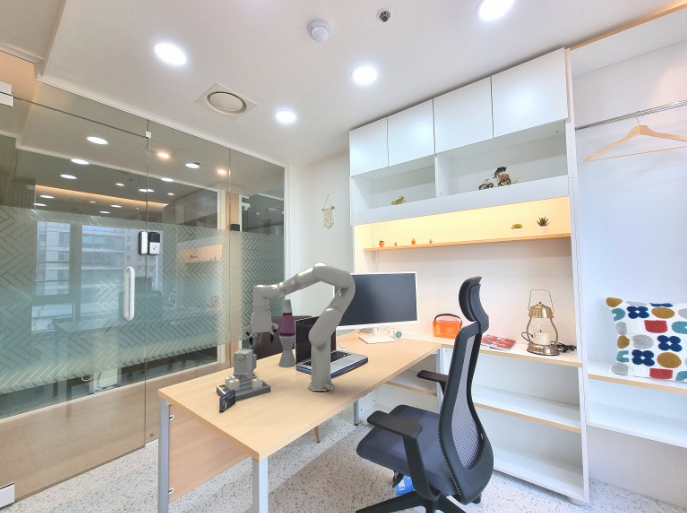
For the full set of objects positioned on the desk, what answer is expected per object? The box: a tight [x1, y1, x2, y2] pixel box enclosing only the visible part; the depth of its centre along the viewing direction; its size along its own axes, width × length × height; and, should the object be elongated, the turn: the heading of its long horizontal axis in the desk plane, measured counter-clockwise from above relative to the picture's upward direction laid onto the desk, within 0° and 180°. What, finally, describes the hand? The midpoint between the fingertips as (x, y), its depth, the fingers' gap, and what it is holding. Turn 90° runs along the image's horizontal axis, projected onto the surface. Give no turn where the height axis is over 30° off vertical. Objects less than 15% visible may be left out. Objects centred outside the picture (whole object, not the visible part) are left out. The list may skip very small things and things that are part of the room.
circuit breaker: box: [232, 348, 258, 380], centre depth 156 cm, size 8×14×15 cm, turn 174°
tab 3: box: [252, 376, 263, 390], centre depth 136 cm, size 3×4×5 cm
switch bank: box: [215, 376, 272, 403], centre depth 138 cm, size 17×20×3 cm
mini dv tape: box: [218, 390, 236, 413], centre depth 122 cm, size 8×2×6 cm, turn 164°
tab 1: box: [224, 375, 235, 388], centre depth 139 cm, size 3×4×5 cm
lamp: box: [278, 298, 296, 368], centre depth 178 cm, size 11×11×40 cm
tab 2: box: [229, 379, 239, 391], centre depth 135 cm, size 3×4×5 cm
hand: (261, 343), depth 144 cm, fingers open, 9 cm apart
